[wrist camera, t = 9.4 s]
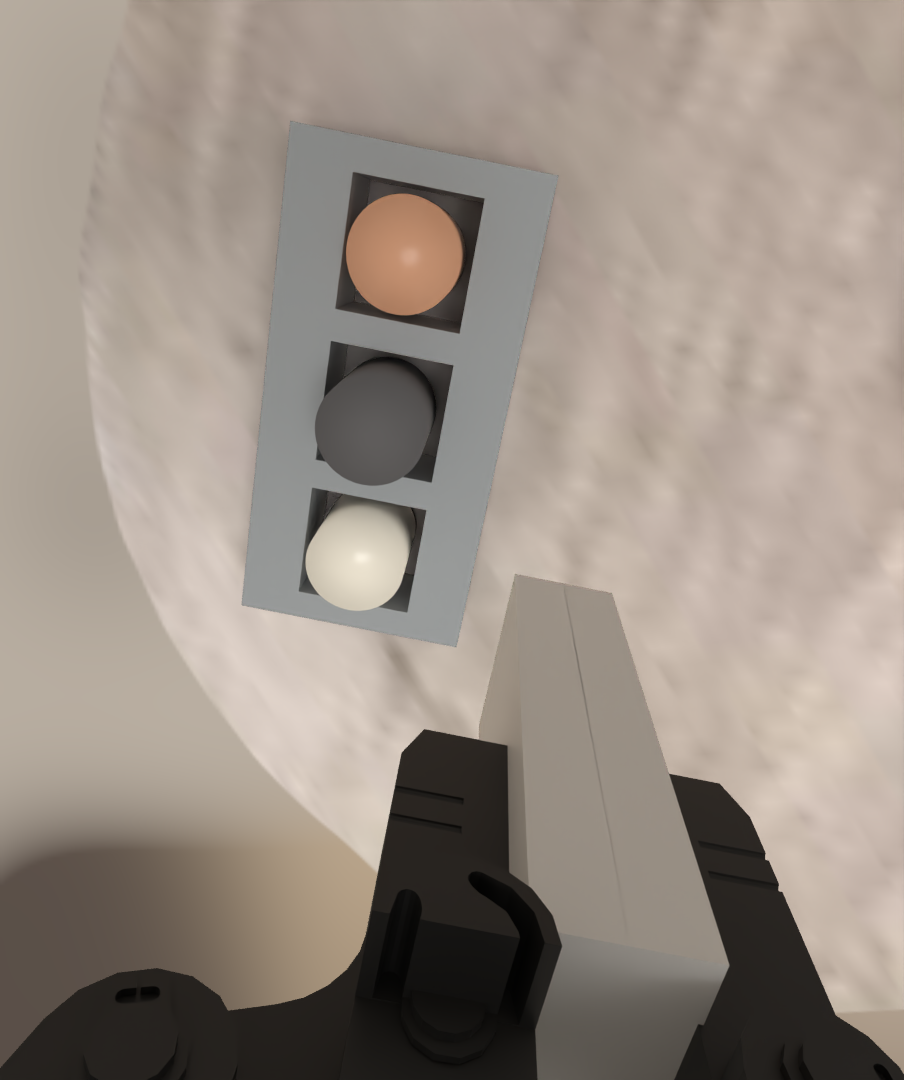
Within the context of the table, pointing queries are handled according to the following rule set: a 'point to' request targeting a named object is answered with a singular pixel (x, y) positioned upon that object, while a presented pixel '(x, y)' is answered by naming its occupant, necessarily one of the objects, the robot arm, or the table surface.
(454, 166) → the panel
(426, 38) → the table surface
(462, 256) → the button terracotta
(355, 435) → the button black
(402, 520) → the button ivory
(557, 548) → the table surface
